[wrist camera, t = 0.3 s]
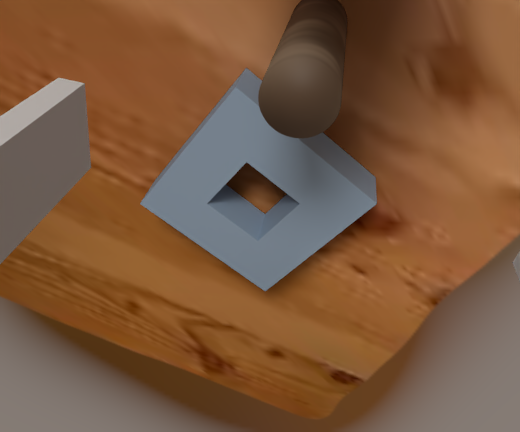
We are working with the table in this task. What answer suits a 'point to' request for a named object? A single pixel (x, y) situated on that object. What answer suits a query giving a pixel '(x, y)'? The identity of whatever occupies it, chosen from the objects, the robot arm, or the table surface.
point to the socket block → (272, 167)
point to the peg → (306, 71)
